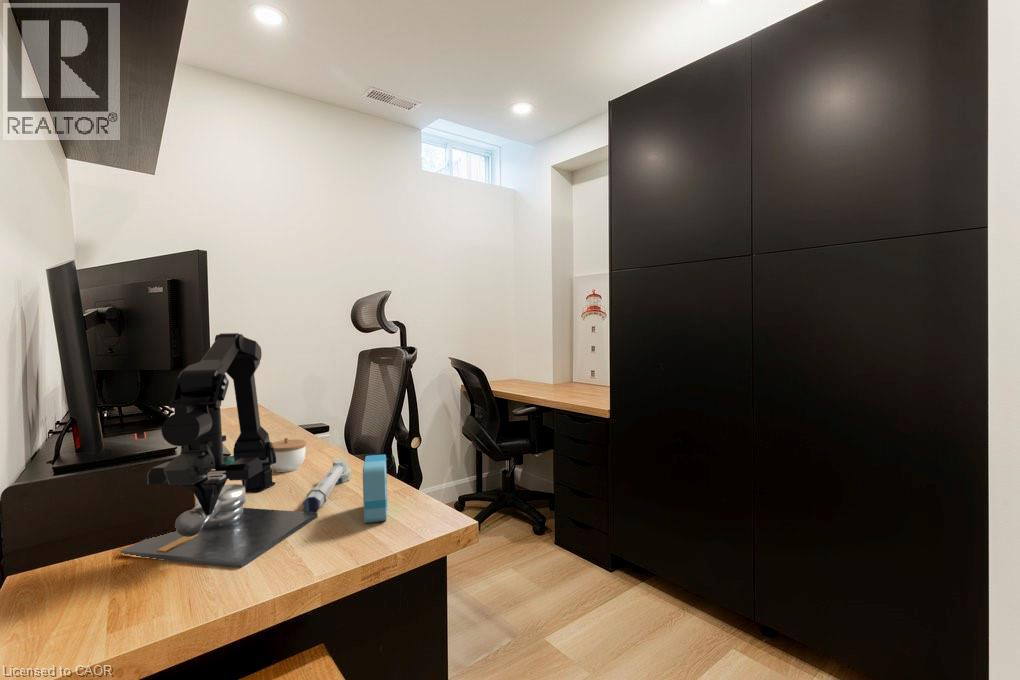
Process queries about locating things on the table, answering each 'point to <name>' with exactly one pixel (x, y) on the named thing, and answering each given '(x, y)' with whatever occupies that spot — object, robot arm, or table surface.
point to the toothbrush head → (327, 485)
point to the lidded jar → (289, 454)
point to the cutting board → (226, 537)
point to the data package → (375, 488)
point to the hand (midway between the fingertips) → (209, 514)
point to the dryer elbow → (196, 517)
